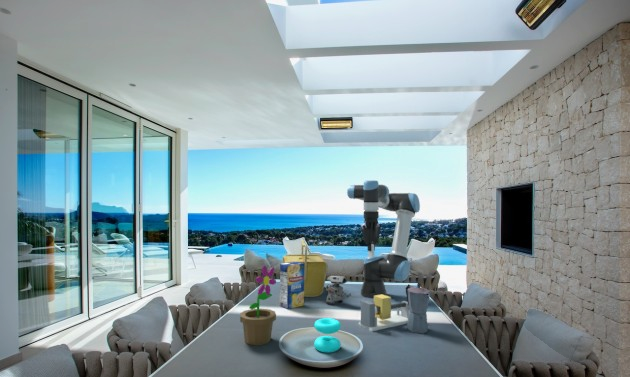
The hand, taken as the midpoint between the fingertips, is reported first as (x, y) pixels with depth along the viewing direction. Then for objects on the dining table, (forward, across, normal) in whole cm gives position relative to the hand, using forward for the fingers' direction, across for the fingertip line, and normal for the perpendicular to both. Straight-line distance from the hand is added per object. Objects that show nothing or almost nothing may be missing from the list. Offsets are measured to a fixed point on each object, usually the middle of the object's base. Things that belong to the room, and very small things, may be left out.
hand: (371, 257), depth 182 cm
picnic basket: (+28, +9, -51) cm, 59 cm away
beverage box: (+27, +30, -29) cm, 49 cm away
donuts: (+26, +46, +25) cm, 59 cm away
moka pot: (+27, +1, +30) cm, 40 cm away
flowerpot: (+26, +65, +4) cm, 70 cm away
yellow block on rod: (+24, +10, +17) cm, 31 cm away
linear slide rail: (+27, +6, +18) cm, 33 cm away
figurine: (+27, +7, -19) cm, 34 cm away
